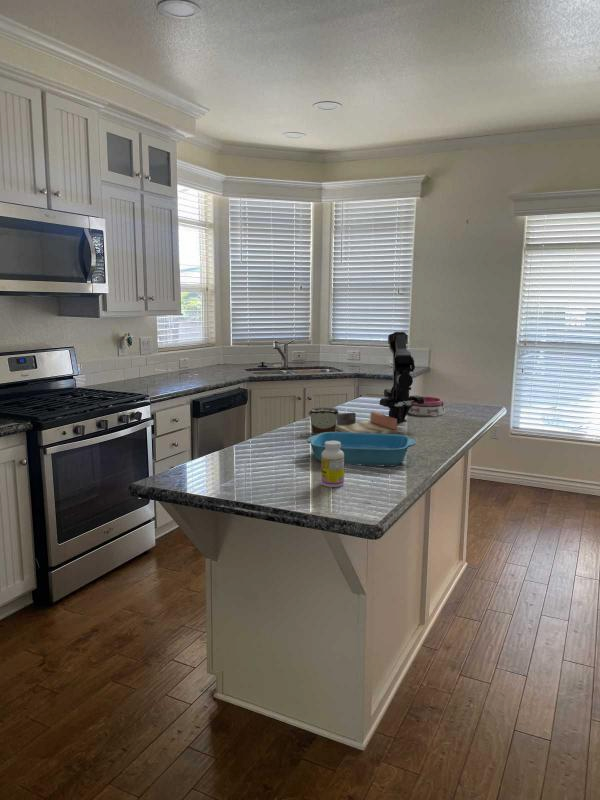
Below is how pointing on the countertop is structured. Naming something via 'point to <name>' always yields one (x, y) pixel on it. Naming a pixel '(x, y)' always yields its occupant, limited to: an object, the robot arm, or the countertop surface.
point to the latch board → (361, 425)
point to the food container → (323, 419)
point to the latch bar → (383, 420)
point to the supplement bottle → (332, 465)
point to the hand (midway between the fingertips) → (401, 421)
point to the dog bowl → (428, 407)
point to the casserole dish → (365, 447)
